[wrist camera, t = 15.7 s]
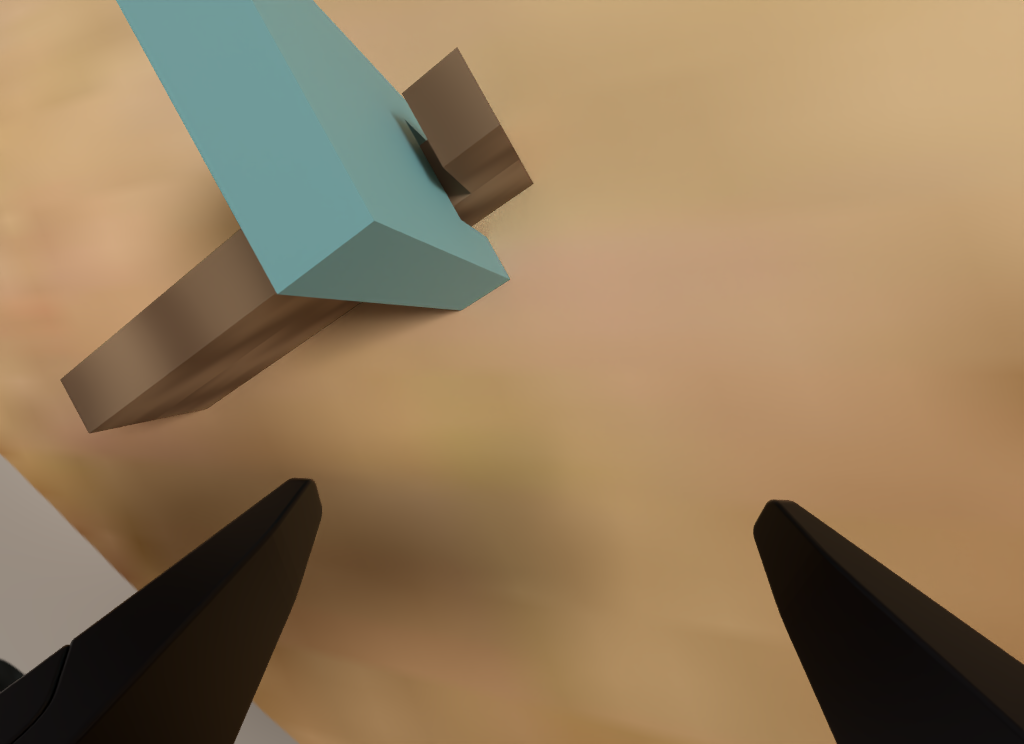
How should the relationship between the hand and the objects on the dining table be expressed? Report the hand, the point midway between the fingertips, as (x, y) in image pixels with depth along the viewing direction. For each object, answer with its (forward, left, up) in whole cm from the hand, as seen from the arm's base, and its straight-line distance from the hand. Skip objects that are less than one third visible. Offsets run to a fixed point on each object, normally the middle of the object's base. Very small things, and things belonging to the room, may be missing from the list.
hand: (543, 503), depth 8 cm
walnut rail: (-2, +12, -9) cm, 15 cm away
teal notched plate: (+3, +10, -9) cm, 14 cm away
